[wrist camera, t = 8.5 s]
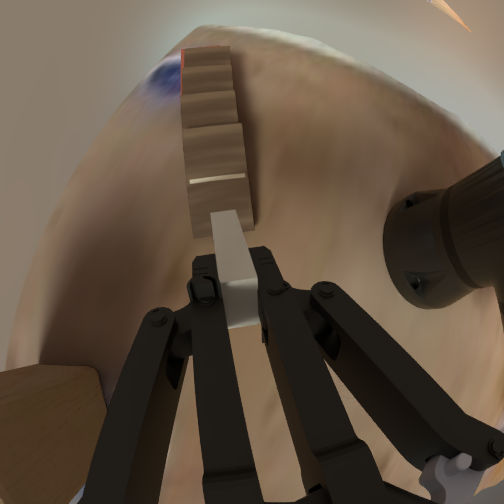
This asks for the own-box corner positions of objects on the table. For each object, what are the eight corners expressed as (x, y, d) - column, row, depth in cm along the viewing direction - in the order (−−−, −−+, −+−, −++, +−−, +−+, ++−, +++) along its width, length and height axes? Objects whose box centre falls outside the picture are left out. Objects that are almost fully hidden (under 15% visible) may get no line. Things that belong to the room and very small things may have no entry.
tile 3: (237, 145, 29) (231, 64, 27) (183, 149, 28) (181, 67, 26) (235, 148, 30) (230, 70, 29) (184, 152, 29) (183, 74, 28)
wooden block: (35, 362, 22) (-89, 383, 3) (99, 364, 24) (-42, 415, 4) (56, 435, 21) (-39, 497, 1) (121, 444, 22) (38, 549, 2)
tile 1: (254, 230, 27) (241, 123, 25) (193, 238, 26) (181, 129, 24) (252, 229, 28) (239, 128, 27) (194, 237, 28) (183, 134, 26)
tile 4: (233, 114, 29) (229, 46, 28) (183, 117, 29) (184, 48, 27) (232, 119, 31) (228, 52, 30) (185, 122, 30) (185, 55, 29)
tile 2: (245, 184, 28) (234, 89, 26) (187, 191, 27) (180, 95, 25) (243, 185, 29) (233, 95, 28) (188, 192, 29) (181, 101, 27)
